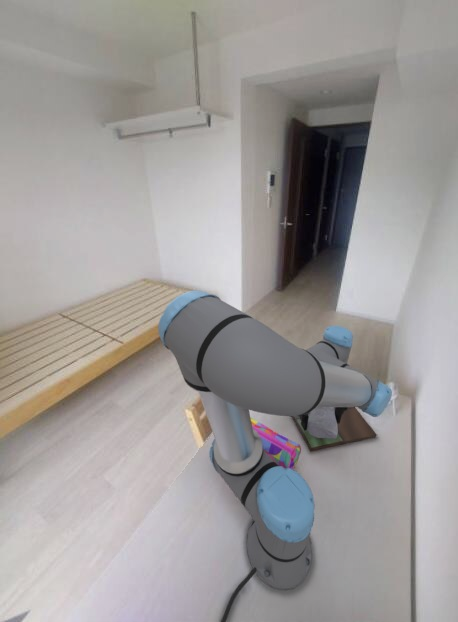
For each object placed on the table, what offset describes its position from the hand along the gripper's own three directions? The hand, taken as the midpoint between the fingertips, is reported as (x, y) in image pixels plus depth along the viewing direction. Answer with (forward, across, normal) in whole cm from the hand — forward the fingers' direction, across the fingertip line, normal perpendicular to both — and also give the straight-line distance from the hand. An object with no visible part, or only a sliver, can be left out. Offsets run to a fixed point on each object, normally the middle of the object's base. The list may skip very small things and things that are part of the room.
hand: (320, 423), depth 91 cm
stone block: (0, 0, 0) cm, 1 cm away
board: (+5, +6, +6) cm, 10 cm away
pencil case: (+5, -20, -2) cm, 21 cm away
